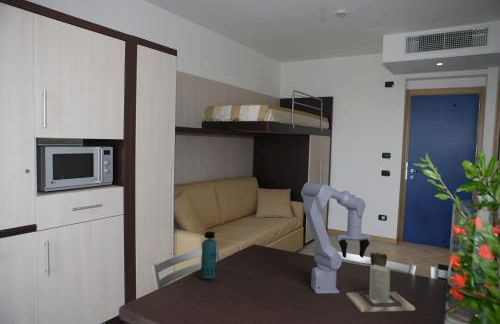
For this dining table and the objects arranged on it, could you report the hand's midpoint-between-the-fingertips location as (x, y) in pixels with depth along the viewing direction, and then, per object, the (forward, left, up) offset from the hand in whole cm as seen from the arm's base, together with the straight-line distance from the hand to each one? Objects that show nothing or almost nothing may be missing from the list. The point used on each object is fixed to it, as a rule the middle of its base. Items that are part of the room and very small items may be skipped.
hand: (352, 256), depth 144 cm
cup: (+17, +10, -11) cm, 22 cm away
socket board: (+2, -20, -10) cm, 23 cm away
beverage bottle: (-61, +4, -11) cm, 62 cm away
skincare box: (+2, -20, -10) cm, 22 cm away
